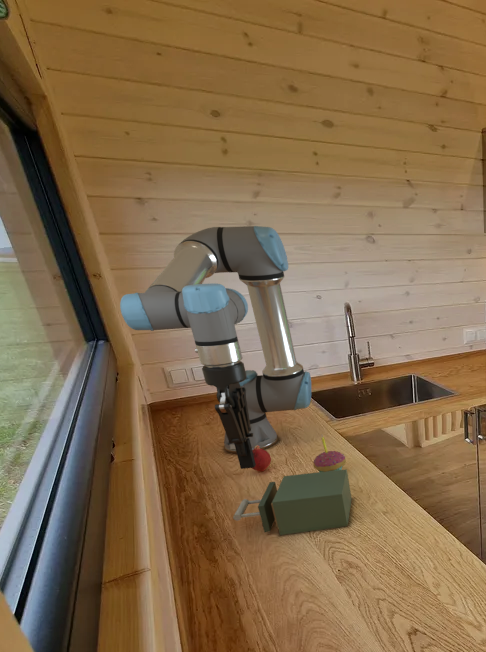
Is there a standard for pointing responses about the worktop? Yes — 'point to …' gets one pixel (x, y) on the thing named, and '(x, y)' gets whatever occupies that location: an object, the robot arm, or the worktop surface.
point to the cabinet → (312, 502)
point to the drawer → (261, 508)
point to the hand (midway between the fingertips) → (248, 466)
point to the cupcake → (329, 460)
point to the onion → (261, 459)
